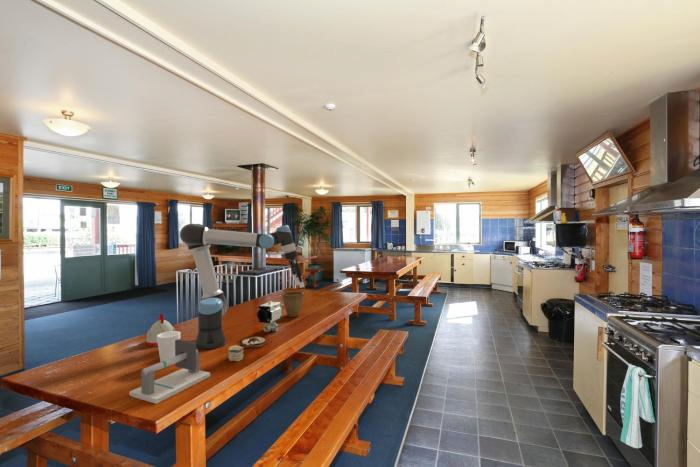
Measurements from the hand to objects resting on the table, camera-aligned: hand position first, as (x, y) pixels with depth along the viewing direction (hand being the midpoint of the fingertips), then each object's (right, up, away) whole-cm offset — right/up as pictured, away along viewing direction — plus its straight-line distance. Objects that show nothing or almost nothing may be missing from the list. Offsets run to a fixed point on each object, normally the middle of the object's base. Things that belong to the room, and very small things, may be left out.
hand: (300, 286), depth 198 cm
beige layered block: (-24, -28, -41) cm, 55 cm away
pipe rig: (-39, -28, -68) cm, 84 cm away
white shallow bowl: (-22, -28, -20) cm, 41 cm away
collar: (-37, -23, -63) cm, 76 cm away
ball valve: (-18, -27, +3) cm, 33 cm away
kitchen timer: (-72, -28, -17) cm, 79 cm away
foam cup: (-53, -28, -46) cm, 75 cm away
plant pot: (-11, -27, +39) cm, 49 cm away
